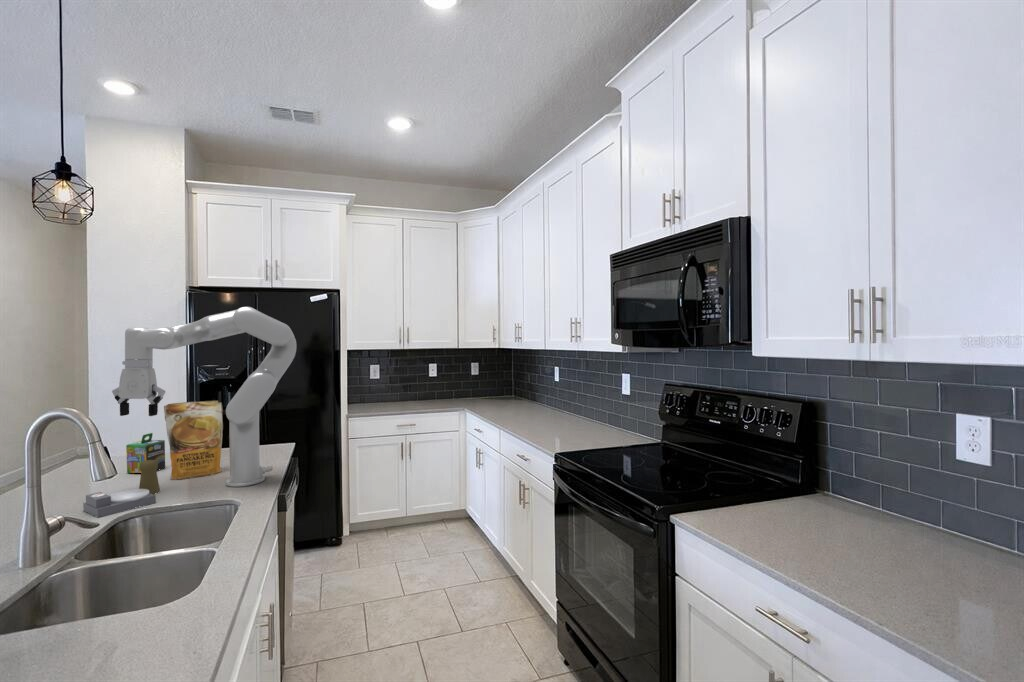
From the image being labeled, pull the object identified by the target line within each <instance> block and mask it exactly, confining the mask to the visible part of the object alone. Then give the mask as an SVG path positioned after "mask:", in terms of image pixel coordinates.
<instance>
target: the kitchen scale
mask: <svg viewBox="0 0 1024 682" xmlns="http://www.w3.org/2000/svg"><path fill="white" fill-rule="evenodd" d="M156 500H157V496H156V494H151V493H149V490H148V489H139V488H133V489H127V490H126V489H125V490H120V491H117V492H112V493H110V494H106V493H103V492H101V491H99V492H94V493H90V494H86V495H85V502H83V507H82V508H83V512H85V513H87V512H88V513H87V514H89V513H90V514H89V515H91V514H92V516H93V515H95V516H97V517H98V518H101V517H100V516H102V517H105V516H104V515H106V516H109V515H108V514H110V515H113V513H114V514H117V513H116V512H118V513H121V512H120V511H122V512H124V510H126V511H129V510H128V509H130V510H132V509H131V508H134V509H136V508H135V507H138V508H140V507H139V506H142V507H144V506H143V505H145V506H148V504H149V505H152V504H151V503H153V504H156V503H157V501H156ZM155 502H156V503H155ZM95 516H94V517H95ZM97 517H96V518H97Z"/></svg>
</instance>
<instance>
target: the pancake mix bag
mask: <svg viewBox="0 0 1024 682" xmlns="http://www.w3.org/2000/svg"><path fill="white" fill-rule="evenodd" d="M223 411H224V409H223V403H222V402H219V400H205V401H204V400H203V401H188V402H186V401H185V402H184V401H183V402H173V403H168V404H165V405H164V406H163V413H164V420H165V425H166V426H165V427H166V434H167V435H166V436H167V439H168V445H169V457H170V462H171V473H170V477H169V480H177V479H179V480H184V479H183V478H187V479H191V478H190V477H195V478H198V477H197V476H200V477H206V476H205V475H208V476H212V475H211V474H213V475H216V474H218V473H222V469H221V458H222V445H223V430H224V420H223V419H224V418H223V416H224V415H223ZM175 478H176V479H175Z"/></svg>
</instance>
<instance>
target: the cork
mask: <svg viewBox="0 0 1024 682" xmlns="http://www.w3.org/2000/svg"><path fill="white" fill-rule="evenodd" d="M157 467H158V462H157V461H156V460H147V461H143V462H141V463H140V465H139V469H140V471H141V474H140V480H139V487H138V489H148V490H149V493H151V494H153V495H156V494H155V493H157V494H159V493H160V492H161V490H160V484H159V479H158V471H156V469H157ZM159 491H160V492H159ZM158 492H159V493H158Z"/></svg>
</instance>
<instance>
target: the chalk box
mask: <svg viewBox="0 0 1024 682" xmlns="http://www.w3.org/2000/svg"><path fill="white" fill-rule="evenodd" d="M147 437H148V439H146V438H147ZM125 448H126V451H125V452H126V472H127V473H141V471H140V469H139V465H140V463H141V462H143V461H147V460H156V461H157V462H158V467H157V469H156V470H158V471H160V470H159V469H162V468H165V469H166V440H164V439H153V432H150V433H146V434H143V435H142V438H141V440H139V441H135V442H132V443H128V444H126V447H125ZM162 470H163V469H162ZM127 473H126V474H127Z"/></svg>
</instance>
